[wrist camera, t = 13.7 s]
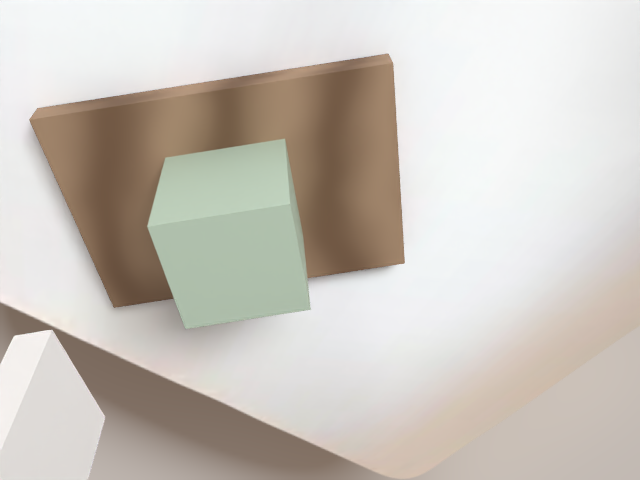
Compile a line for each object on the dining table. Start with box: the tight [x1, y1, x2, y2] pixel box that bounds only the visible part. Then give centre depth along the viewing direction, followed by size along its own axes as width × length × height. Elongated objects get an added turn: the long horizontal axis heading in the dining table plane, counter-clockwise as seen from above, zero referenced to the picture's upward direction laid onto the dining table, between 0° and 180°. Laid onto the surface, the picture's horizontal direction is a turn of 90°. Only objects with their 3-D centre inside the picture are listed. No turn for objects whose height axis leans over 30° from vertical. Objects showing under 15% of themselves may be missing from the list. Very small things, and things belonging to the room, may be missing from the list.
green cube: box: [147, 139, 311, 329], centre depth 34 cm, size 7×7×7 cm
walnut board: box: [29, 54, 405, 308], centre depth 38 cm, size 20×14×2 cm
